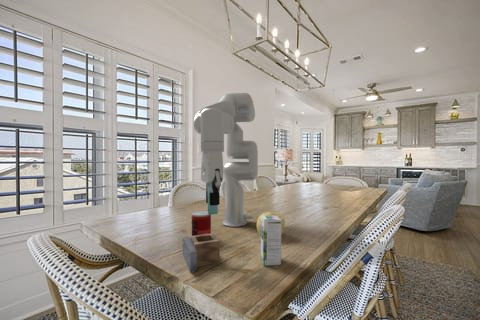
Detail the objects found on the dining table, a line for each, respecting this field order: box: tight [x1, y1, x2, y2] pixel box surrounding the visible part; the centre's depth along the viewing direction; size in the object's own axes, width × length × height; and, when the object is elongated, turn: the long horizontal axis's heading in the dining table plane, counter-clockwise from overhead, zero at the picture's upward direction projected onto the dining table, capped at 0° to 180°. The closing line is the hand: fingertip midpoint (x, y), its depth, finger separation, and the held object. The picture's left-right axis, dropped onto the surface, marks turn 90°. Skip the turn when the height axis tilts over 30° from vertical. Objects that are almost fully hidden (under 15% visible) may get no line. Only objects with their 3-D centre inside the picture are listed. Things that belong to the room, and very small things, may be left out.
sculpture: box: [256, 211, 286, 237], centre depth 99 cm, size 11×12×11 cm
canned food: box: [191, 210, 212, 236], centre depth 96 cm, size 8×8×11 cm
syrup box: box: [260, 215, 282, 267], centre depth 75 cm, size 6×6×14 cm
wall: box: [182, 236, 198, 274], centre depth 75 cm, size 2×14×6 cm, turn 23°
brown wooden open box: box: [189, 232, 221, 267], centre depth 77 cm, size 8×8×7 cm
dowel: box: [207, 181, 219, 216], centre depth 75 cm, size 3×3×11 cm
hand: (212, 203), depth 75 cm, fingers closed on dowel, 3 cm apart
